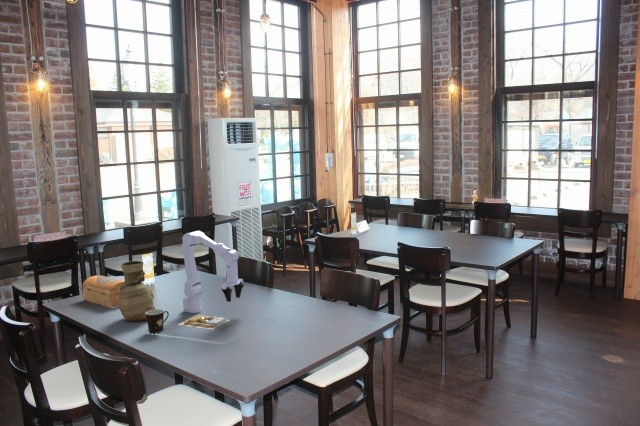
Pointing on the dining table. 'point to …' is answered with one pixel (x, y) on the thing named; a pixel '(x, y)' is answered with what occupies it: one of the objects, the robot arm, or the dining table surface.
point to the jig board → (200, 324)
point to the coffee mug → (155, 320)
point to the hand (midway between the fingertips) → (233, 299)
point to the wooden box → (102, 290)
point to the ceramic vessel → (135, 293)
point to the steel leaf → (215, 321)
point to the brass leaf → (197, 319)
